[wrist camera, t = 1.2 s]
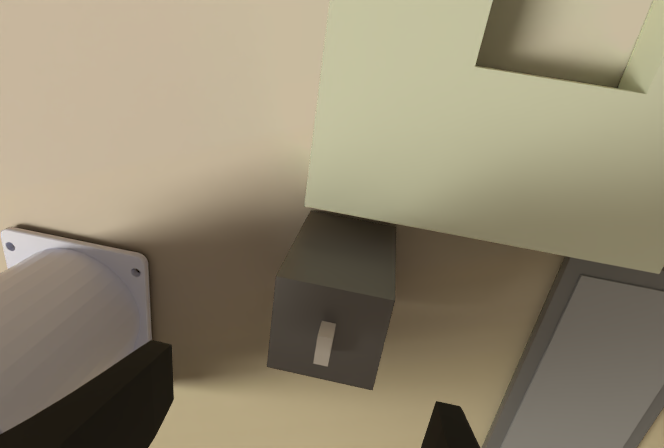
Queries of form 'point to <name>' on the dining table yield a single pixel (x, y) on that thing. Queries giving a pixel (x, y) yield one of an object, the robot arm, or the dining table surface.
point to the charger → (334, 300)
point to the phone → (588, 363)
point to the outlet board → (487, 136)
